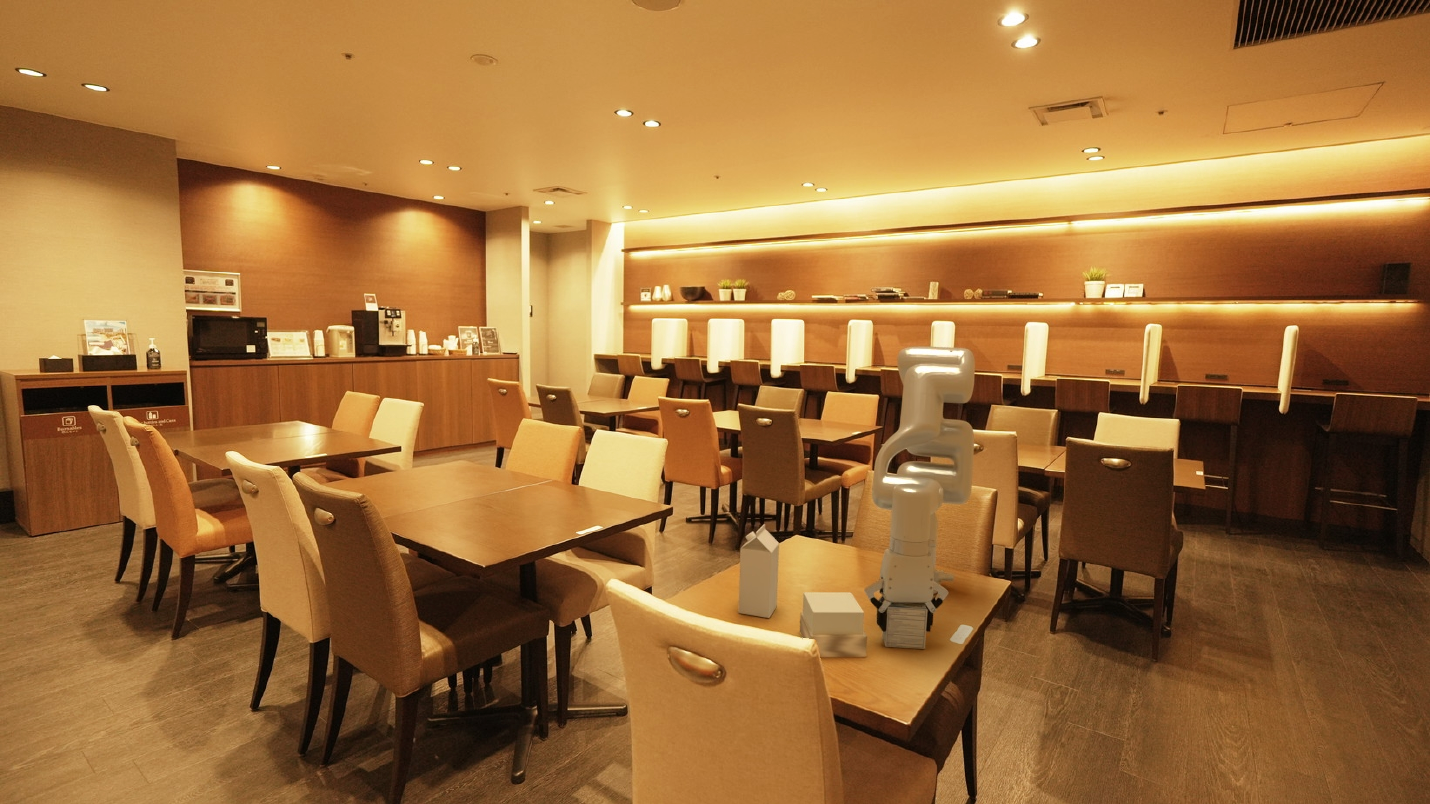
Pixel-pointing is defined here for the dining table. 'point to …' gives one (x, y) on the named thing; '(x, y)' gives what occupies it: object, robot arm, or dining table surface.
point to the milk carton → (758, 574)
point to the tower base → (836, 642)
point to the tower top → (833, 613)
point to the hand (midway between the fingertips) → (904, 628)
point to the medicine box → (906, 625)
